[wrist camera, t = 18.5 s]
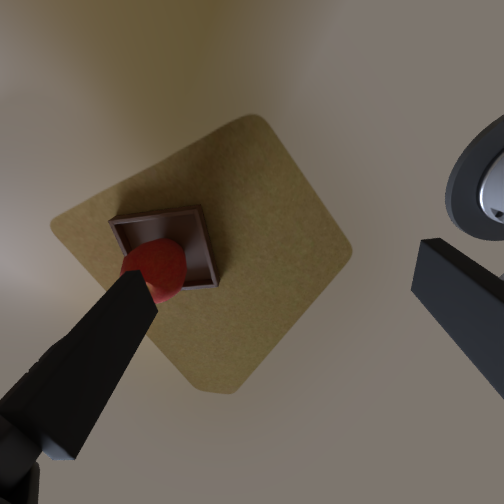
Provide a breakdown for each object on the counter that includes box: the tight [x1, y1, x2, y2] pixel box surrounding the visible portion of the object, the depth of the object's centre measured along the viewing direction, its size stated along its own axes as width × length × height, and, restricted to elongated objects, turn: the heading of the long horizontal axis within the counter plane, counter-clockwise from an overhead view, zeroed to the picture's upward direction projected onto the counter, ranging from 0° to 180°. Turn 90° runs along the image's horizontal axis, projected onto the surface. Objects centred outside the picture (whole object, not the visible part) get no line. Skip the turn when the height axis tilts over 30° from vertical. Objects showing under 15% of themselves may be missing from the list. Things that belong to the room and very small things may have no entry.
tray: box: [108, 205, 220, 291], centre depth 47 cm, size 17×17×2 cm
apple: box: [120, 238, 187, 304], centre depth 41 cm, size 10×10×14 cm
